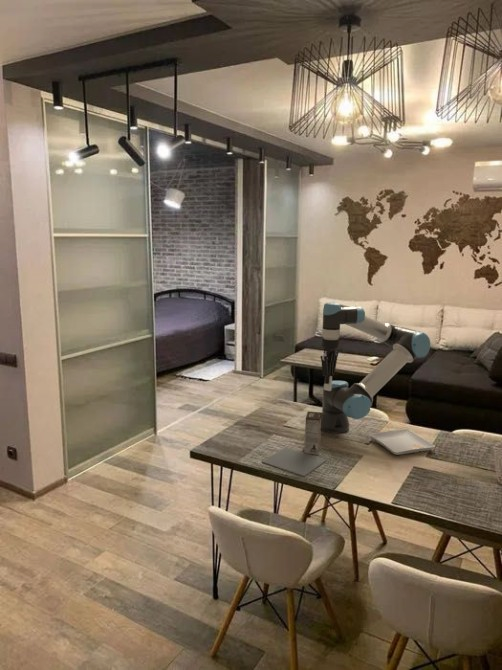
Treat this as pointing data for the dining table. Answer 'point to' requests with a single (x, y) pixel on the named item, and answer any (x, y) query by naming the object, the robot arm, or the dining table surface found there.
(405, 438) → the salad plate
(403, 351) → the robot arm
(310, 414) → the coffee box
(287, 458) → the mat
